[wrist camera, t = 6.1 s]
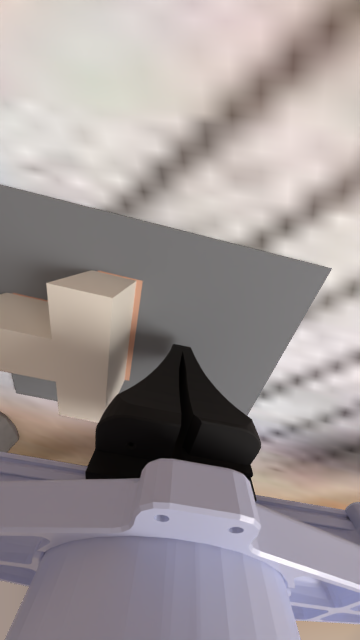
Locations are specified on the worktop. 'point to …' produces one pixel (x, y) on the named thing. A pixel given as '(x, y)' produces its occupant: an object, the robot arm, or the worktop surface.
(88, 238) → the slate mat
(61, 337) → the t block
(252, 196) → the worktop surface
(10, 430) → the coffeepot
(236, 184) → the worktop surface
